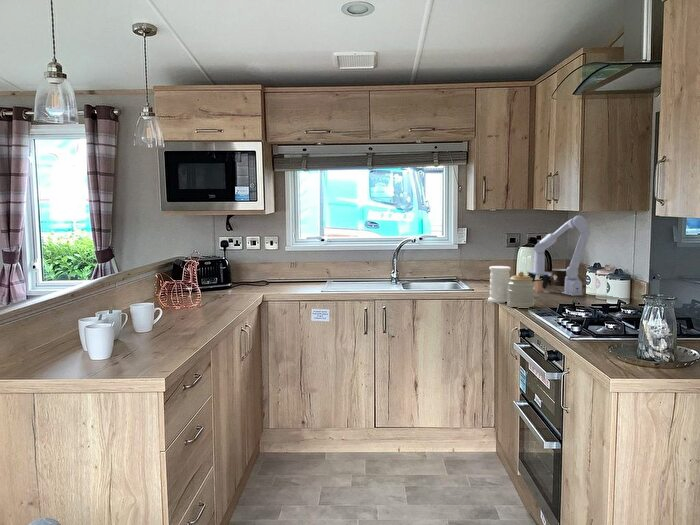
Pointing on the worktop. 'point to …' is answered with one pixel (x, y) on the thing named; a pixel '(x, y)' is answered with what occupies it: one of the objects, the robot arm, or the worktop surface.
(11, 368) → the worktop surface
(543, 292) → the coaster
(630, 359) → the worktop surface
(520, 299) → the jar
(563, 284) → the coffee mug
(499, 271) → the decorative container
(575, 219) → the robot arm
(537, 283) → the pot terracotta
